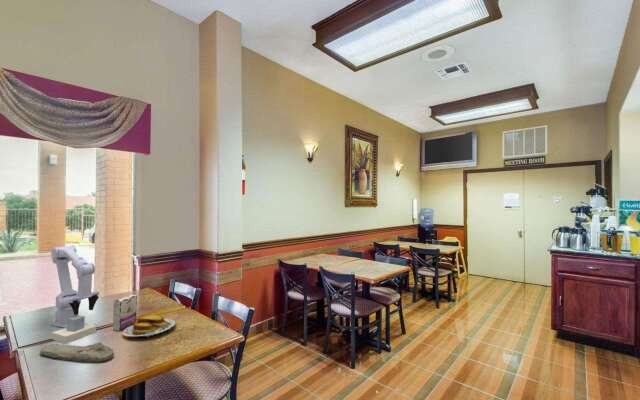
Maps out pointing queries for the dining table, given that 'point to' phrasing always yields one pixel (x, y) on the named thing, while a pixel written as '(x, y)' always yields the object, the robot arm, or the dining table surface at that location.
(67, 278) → the robot arm
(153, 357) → the dining table surface
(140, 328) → the food on plate
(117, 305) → the candy bar box
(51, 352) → the long grey stone
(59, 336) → the cream box
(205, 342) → the dining table surface
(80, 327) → the slate block
